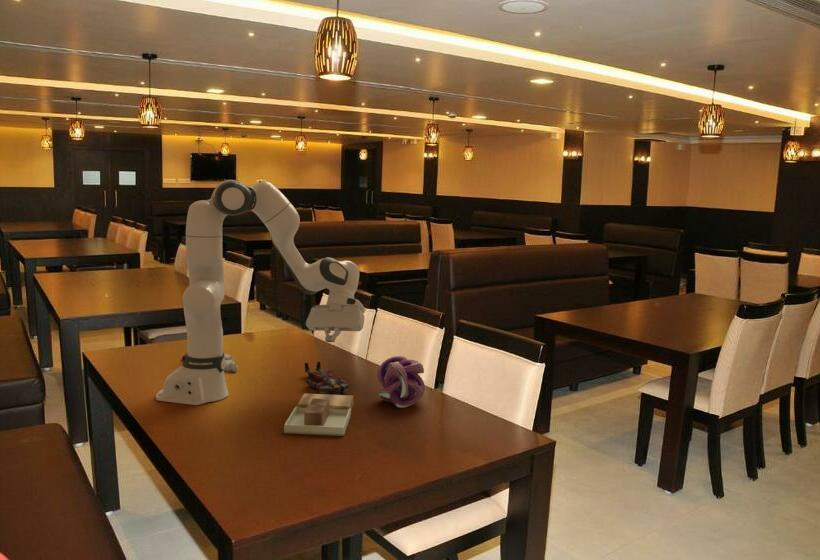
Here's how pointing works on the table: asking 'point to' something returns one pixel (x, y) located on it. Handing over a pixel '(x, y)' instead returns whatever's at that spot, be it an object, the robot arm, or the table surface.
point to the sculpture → (401, 381)
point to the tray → (332, 426)
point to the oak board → (334, 401)
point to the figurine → (325, 381)
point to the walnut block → (317, 412)
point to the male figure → (230, 363)
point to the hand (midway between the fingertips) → (329, 341)
